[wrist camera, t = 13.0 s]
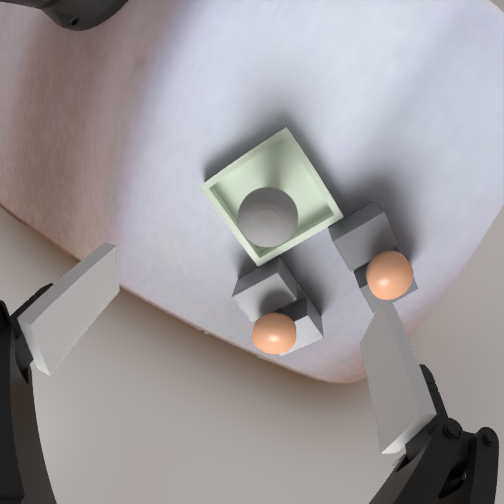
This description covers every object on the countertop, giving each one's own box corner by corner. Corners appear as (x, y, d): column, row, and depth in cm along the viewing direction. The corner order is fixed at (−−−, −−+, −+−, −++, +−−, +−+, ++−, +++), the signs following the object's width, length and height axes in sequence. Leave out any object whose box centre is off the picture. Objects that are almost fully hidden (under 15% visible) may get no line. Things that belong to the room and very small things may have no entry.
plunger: (249, 304, 37) (243, 331, 32) (283, 287, 36) (281, 313, 31) (271, 331, 39) (267, 359, 34) (303, 315, 37) (304, 343, 32)
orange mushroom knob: (351, 250, 33) (361, 272, 28) (388, 229, 31) (403, 248, 26) (368, 282, 34) (379, 307, 29) (403, 262, 32) (419, 285, 27)
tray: (204, 182, 34) (199, 186, 32) (286, 126, 30) (286, 126, 28) (259, 258, 37) (257, 266, 35) (340, 211, 33) (343, 217, 31)
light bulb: (290, 226, 34) (289, 263, 25) (245, 215, 35) (227, 248, 25) (302, 181, 32) (305, 203, 23) (254, 170, 32) (239, 187, 23)
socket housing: (237, 278, 39) (231, 297, 35) (373, 201, 32) (384, 211, 28) (282, 335, 42) (280, 356, 38) (406, 271, 35) (417, 288, 31)
